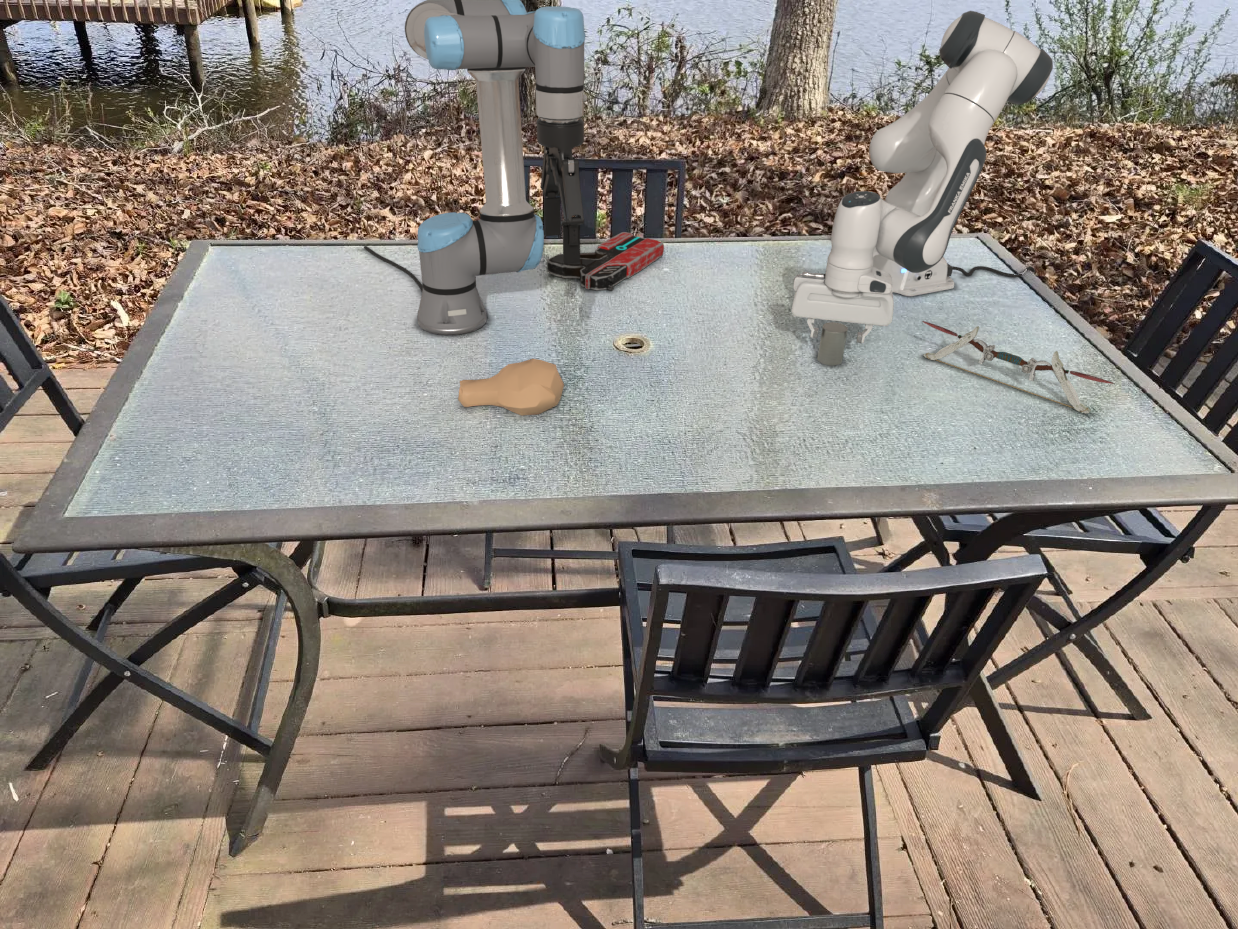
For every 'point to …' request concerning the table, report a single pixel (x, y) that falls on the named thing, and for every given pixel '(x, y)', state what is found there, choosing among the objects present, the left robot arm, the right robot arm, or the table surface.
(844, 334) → the can
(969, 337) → the bow
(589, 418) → the table surface
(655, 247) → the gun
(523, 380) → the squash
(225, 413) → the table surface
